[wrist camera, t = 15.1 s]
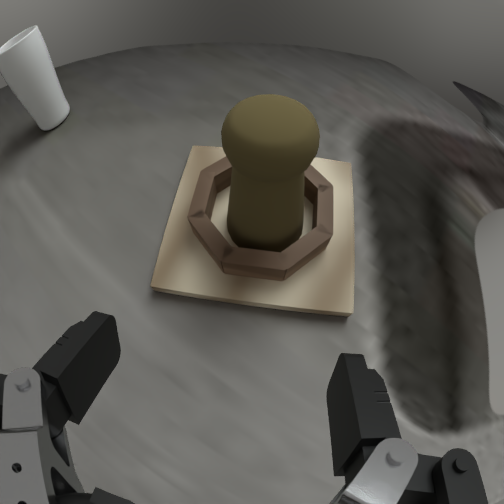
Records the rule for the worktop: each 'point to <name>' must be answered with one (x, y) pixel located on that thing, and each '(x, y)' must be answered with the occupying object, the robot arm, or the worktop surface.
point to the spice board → (259, 261)
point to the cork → (268, 170)
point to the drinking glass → (34, 78)
